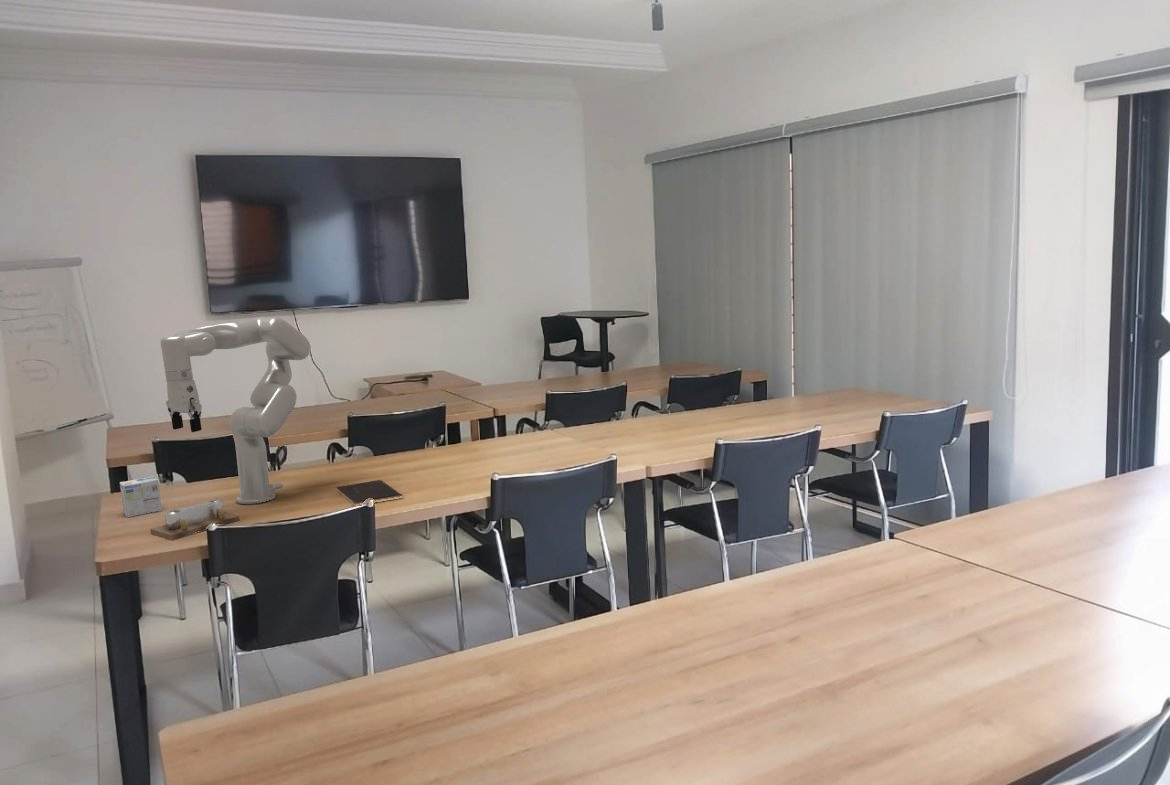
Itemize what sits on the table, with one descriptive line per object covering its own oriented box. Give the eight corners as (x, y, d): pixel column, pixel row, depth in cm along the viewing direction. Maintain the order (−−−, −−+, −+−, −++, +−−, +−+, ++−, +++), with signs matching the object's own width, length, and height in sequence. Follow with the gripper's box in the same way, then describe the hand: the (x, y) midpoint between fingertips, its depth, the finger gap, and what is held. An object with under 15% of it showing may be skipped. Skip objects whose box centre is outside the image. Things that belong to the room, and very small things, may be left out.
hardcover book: (354, 508, 285) (354, 502, 285) (337, 493, 305) (336, 486, 305) (402, 500, 293) (402, 493, 292) (382, 485, 313) (382, 479, 312)
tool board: (218, 514, 282) (216, 501, 282) (239, 520, 275) (238, 506, 275) (150, 533, 265) (149, 519, 264) (172, 540, 258) (170, 525, 257)
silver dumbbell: (219, 513, 278) (218, 498, 278) (227, 515, 276) (225, 499, 275) (164, 528, 264) (162, 512, 263) (171, 530, 262) (169, 514, 261)
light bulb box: (157, 506, 295) (154, 475, 293) (162, 510, 290) (159, 479, 288) (122, 513, 288) (118, 481, 287) (127, 518, 283) (123, 485, 281)
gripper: (206, 374, 269) (214, 429, 272) (174, 372, 278) (182, 425, 282) (184, 379, 263) (192, 435, 266) (151, 376, 272) (160, 430, 276)
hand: (187, 429), depth 274 cm, fingers open, 9 cm apart
